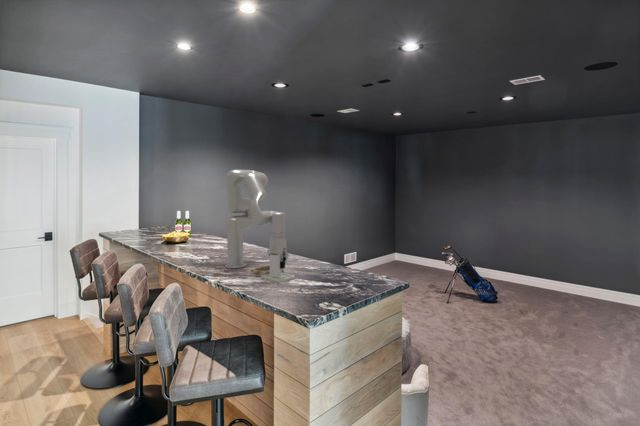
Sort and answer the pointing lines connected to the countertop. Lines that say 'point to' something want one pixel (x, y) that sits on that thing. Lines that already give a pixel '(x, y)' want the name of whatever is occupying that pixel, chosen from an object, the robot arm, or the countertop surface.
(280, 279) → the tray
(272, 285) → the countertop surface
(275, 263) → the mug
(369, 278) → the countertop surface
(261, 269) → the holder frame
